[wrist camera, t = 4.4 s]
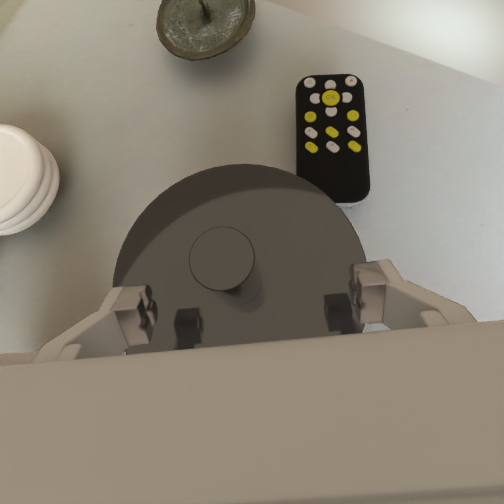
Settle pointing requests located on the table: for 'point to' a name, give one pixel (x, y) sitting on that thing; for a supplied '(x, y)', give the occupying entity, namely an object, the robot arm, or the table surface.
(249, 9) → the lid
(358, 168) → the remote control
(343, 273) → the jar lid
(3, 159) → the white short ribbed cylinder
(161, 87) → the table surface
